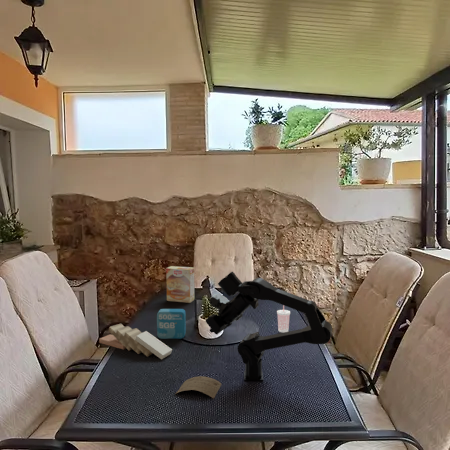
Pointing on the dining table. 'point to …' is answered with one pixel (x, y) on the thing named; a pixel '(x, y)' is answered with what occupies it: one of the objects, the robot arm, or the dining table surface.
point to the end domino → (111, 341)
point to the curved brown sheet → (201, 385)
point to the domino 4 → (153, 344)
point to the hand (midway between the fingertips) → (210, 331)
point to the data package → (171, 323)
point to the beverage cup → (283, 320)
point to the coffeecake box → (180, 284)
